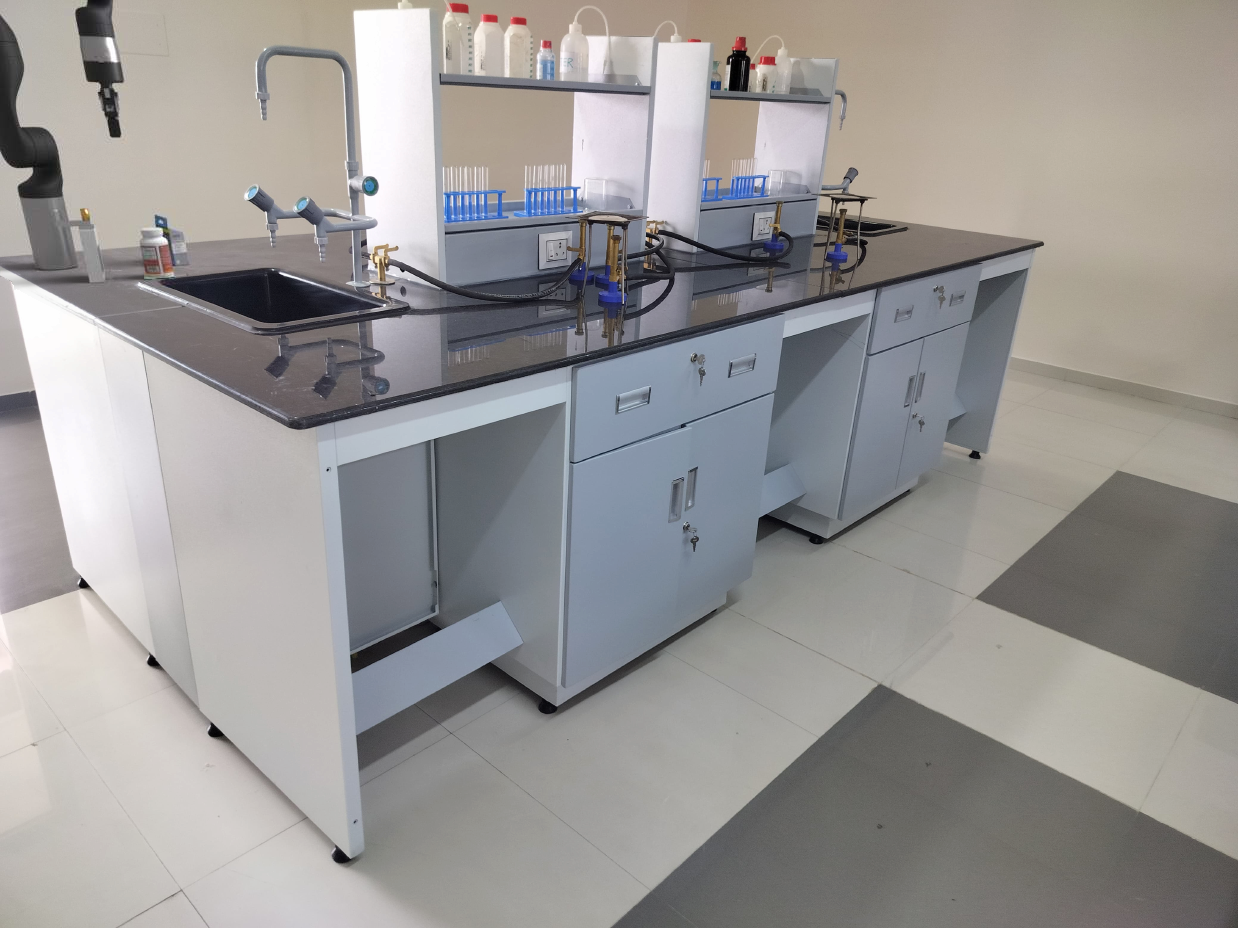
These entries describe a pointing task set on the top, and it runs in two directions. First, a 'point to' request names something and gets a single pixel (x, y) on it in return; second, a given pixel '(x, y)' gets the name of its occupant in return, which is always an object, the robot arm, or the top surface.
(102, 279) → the socket panel
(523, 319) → the top surface
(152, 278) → the mat
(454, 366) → the top surface
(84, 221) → the clip
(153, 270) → the pill bottle
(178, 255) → the label tape box
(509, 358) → the top surface
